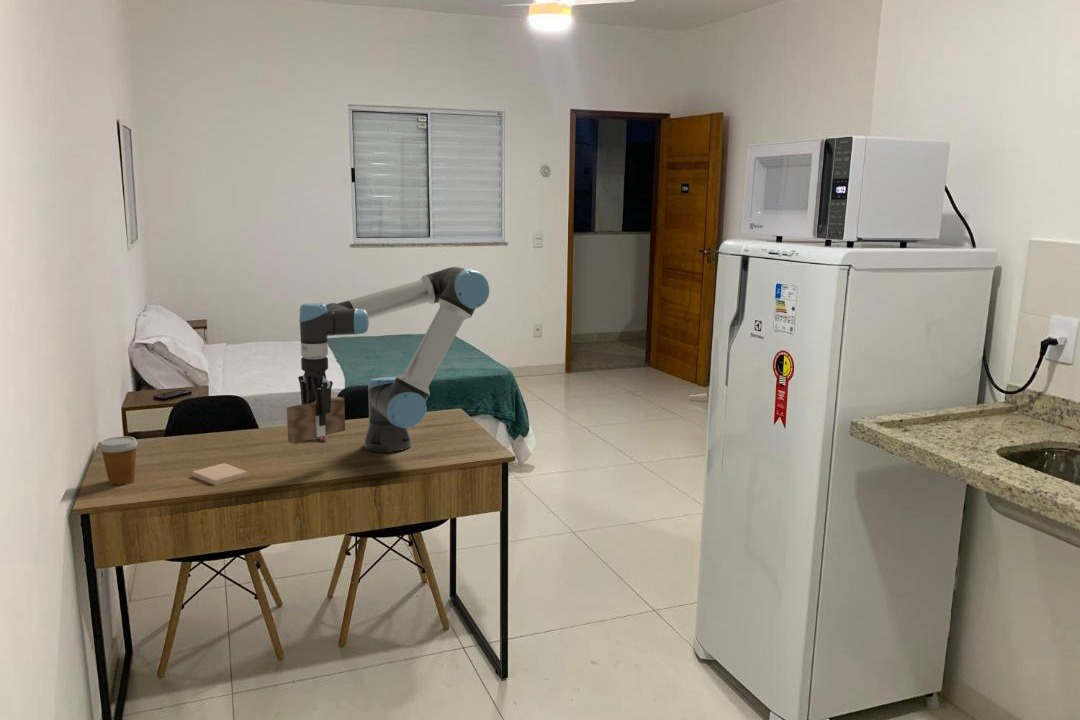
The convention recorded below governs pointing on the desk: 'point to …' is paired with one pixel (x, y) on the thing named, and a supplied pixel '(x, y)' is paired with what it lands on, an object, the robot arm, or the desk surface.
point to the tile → (220, 474)
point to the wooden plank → (314, 420)
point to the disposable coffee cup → (119, 459)
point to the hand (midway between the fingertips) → (316, 434)
